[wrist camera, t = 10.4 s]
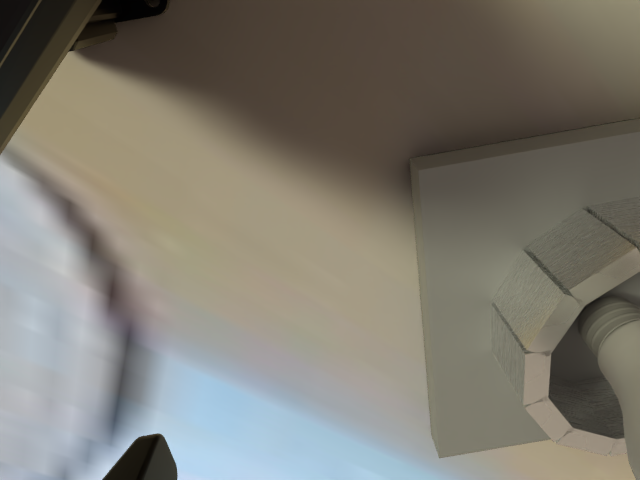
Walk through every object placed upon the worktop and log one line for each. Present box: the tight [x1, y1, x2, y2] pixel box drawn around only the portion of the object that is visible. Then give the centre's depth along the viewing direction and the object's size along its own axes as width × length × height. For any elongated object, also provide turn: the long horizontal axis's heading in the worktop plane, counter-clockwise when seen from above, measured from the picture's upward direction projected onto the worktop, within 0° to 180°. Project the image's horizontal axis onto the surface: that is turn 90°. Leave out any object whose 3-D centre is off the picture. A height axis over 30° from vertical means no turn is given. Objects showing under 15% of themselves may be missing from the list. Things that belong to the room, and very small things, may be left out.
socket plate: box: [409, 118, 640, 458], centre depth 23 cm, size 16×16×2 cm
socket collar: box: [491, 197, 640, 456], centre depth 21 cm, size 10×10×4 cm
